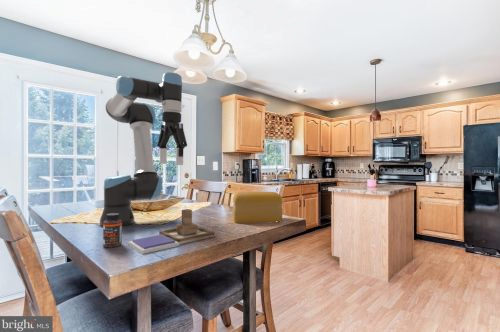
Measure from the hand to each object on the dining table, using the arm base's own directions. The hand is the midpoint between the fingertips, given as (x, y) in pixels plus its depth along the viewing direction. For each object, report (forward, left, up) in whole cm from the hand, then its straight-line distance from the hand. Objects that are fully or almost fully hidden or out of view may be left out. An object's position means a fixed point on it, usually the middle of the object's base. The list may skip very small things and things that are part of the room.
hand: (170, 164), depth 108 cm
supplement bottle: (-1, -22, -29) cm, 37 cm away
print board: (+6, +4, -29) cm, 30 cm away
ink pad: (+9, -11, -29) cm, 32 cm away
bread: (+3, +47, -29) cm, 55 cm away
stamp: (+6, +4, -28) cm, 29 cm away
